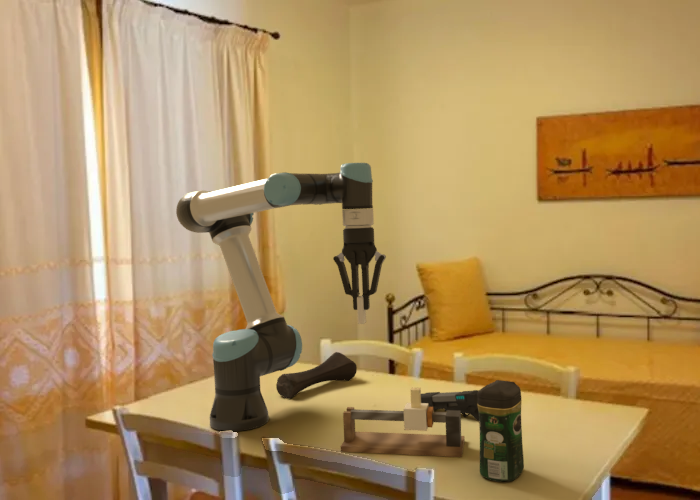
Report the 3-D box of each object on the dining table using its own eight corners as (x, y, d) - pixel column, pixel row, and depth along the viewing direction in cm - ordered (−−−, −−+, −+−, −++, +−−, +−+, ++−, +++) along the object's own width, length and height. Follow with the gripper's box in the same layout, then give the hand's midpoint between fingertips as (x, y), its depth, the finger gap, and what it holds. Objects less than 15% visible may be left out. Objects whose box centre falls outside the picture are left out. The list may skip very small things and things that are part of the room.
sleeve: (404, 430, 151) (402, 391, 151) (407, 423, 156) (406, 385, 156) (426, 430, 150) (425, 391, 150) (429, 423, 155) (427, 386, 154)
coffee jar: (491, 462, 143) (489, 375, 142) (528, 469, 138) (526, 379, 137) (473, 478, 135) (471, 387, 133) (512, 486, 130) (510, 391, 129)
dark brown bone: (345, 383, 220) (283, 415, 199) (330, 354, 222) (267, 383, 201) (366, 371, 213) (303, 403, 192) (350, 341, 214) (287, 370, 194)
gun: (481, 422, 168) (468, 383, 169) (420, 433, 181) (409, 397, 182) (490, 417, 171) (477, 379, 173) (430, 429, 184) (419, 393, 186)
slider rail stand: (340, 451, 153) (339, 413, 152) (350, 436, 162) (349, 400, 162) (461, 457, 146) (460, 417, 146) (464, 440, 156) (463, 403, 155)
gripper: (328, 228, 162) (332, 325, 164) (381, 226, 159) (385, 325, 161) (336, 227, 169) (340, 320, 171) (387, 225, 166) (390, 320, 168)
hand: (362, 322), depth 166 cm, fingers closed
